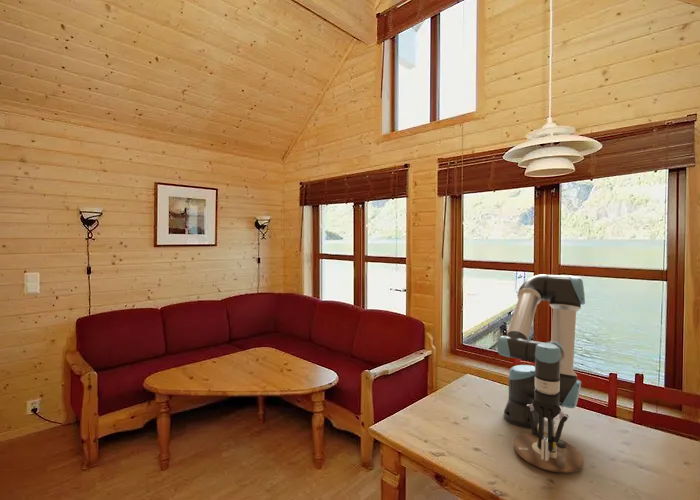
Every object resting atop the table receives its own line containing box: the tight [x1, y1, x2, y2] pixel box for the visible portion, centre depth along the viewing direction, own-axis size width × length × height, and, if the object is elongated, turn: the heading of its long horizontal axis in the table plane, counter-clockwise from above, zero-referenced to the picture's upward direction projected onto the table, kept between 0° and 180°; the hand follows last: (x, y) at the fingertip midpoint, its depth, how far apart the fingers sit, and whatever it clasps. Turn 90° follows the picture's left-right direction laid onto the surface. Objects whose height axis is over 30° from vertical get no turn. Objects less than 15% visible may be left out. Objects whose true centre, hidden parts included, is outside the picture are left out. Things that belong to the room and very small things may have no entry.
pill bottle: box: [537, 418, 558, 454], centre depth 131 cm, size 6×6×12 cm
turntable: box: [513, 432, 584, 474], centre depth 131 cm, size 22×22×9 cm
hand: (545, 458), depth 123 cm, fingers closed
